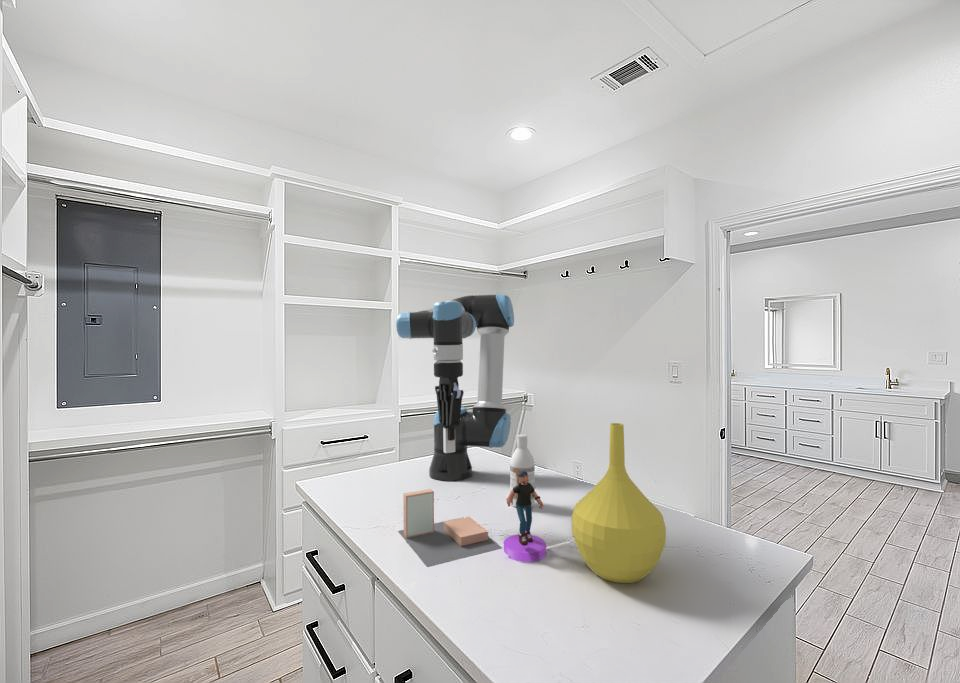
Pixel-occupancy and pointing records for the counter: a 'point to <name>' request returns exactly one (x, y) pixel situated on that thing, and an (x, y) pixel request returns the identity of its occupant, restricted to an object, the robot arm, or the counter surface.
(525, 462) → the bath foam
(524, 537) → the figurine
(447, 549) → the mat
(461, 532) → the tile
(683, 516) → the counter surface
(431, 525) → the tile
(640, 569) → the vase
